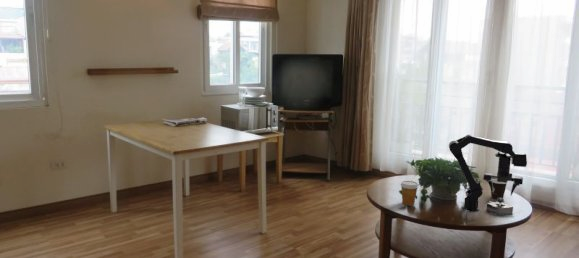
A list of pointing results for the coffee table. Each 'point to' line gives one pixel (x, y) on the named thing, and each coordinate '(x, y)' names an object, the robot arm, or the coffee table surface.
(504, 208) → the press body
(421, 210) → the coffee table surface
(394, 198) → the coffee table surface
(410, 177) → the coffee table surface
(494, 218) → the coffee table surface
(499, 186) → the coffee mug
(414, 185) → the beer cup
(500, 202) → the plunger
